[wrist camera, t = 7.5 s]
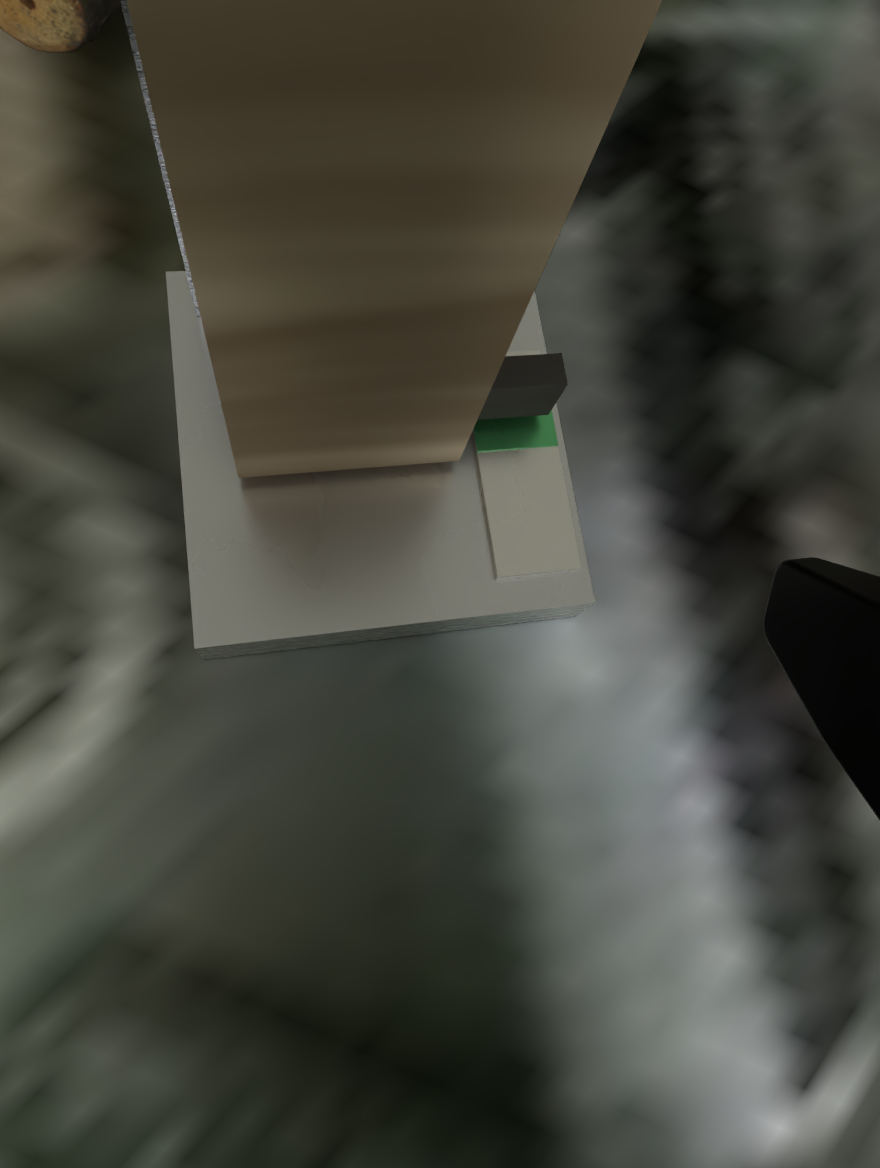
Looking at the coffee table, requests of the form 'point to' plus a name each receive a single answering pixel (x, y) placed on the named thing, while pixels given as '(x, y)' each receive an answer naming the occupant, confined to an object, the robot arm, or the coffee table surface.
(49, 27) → the bird figurine
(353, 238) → the light brown wooden block
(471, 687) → the coffee table surface
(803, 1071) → the coffee table surface
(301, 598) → the gauge base
